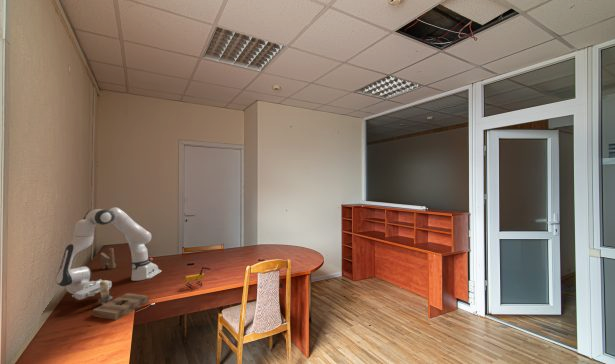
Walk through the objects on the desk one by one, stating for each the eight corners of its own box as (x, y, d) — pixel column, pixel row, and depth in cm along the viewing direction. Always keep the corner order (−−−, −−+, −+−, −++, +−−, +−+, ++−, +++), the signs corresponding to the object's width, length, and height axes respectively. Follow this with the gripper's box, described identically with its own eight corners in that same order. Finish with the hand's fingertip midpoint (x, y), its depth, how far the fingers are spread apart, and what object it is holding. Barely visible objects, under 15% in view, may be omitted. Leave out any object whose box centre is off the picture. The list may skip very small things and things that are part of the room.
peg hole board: (127, 298, 184) (127, 293, 184) (148, 301, 179) (148, 295, 179) (93, 316, 164) (92, 309, 163) (115, 320, 158) (115, 313, 158)
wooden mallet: (104, 267, 248) (102, 248, 247) (116, 267, 248) (114, 247, 247) (101, 269, 245) (99, 249, 244) (113, 268, 244) (111, 248, 243)
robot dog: (211, 285, 201) (210, 267, 200) (184, 289, 195) (183, 271, 194) (211, 282, 206) (210, 264, 205) (185, 286, 200) (184, 268, 199)
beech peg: (107, 300, 183) (105, 279, 182) (115, 301, 181) (114, 280, 180) (95, 306, 176) (93, 283, 175) (104, 307, 174) (102, 285, 173)
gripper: (69, 291, 173) (84, 293, 168) (102, 278, 192) (117, 279, 188) (70, 300, 173) (85, 303, 169) (103, 286, 193) (117, 288, 188)
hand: (102, 290), depth 178 cm, fingers open, 8 cm apart
